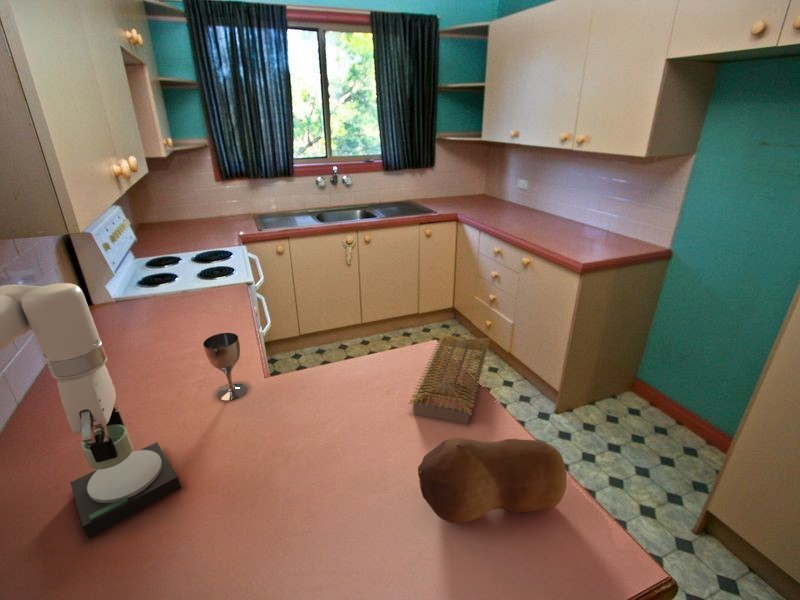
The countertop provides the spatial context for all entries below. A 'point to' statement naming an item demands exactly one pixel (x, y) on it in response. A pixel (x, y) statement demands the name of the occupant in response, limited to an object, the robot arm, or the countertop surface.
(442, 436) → the countertop surface
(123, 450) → the bowl
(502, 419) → the countertop surface
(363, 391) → the countertop surface
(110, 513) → the scale
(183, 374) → the countertop surface
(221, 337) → the wine glass
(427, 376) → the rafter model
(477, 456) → the butternut squash
